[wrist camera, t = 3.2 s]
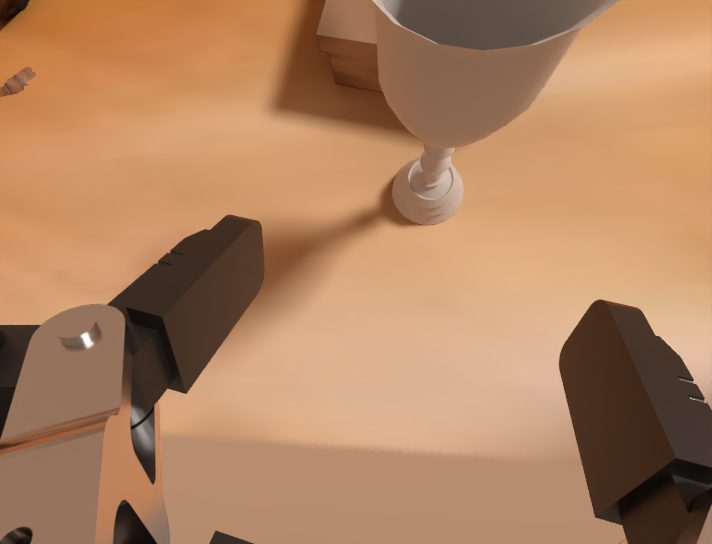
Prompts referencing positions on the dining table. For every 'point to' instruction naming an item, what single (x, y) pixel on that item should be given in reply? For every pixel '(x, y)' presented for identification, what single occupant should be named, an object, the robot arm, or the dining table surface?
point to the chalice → (465, 79)
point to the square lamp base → (350, 42)
